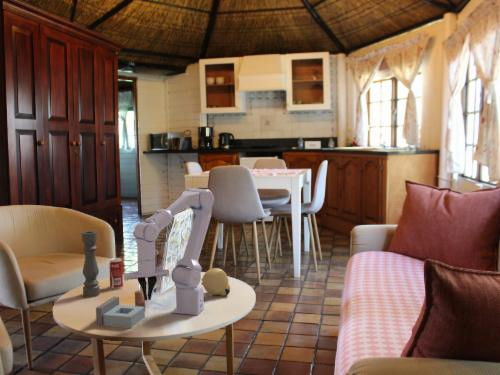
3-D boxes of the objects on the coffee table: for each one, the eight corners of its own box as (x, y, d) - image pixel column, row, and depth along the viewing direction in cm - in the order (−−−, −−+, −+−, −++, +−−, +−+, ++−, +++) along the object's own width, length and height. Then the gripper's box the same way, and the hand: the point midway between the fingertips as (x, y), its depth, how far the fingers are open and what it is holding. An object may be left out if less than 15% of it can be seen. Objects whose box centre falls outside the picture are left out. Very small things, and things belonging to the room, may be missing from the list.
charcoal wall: (119, 313, 173) (119, 296, 172) (102, 326, 161) (101, 308, 161) (114, 313, 173) (113, 296, 173) (96, 325, 162) (95, 307, 161)
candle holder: (95, 297, 190) (93, 234, 188) (80, 296, 191) (78, 233, 189) (102, 292, 197) (100, 231, 194) (87, 292, 198) (85, 230, 195)
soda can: (111, 285, 206) (110, 257, 205) (124, 285, 206) (123, 257, 205) (108, 289, 201) (107, 260, 200) (121, 289, 201) (121, 260, 200)
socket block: (144, 318, 169) (144, 306, 169) (131, 328, 160) (131, 317, 159) (118, 315, 171) (117, 304, 171) (103, 326, 162) (103, 314, 161)
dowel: (146, 309, 177) (146, 290, 176) (142, 313, 173) (142, 293, 173) (137, 309, 177) (137, 290, 177) (133, 312, 174) (133, 293, 173)
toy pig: (216, 307, 190) (237, 289, 189) (195, 285, 188) (216, 267, 188) (216, 298, 200) (236, 281, 199) (196, 277, 198) (216, 260, 197)
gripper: (166, 254, 167) (167, 293, 168) (122, 257, 162) (123, 297, 164) (170, 259, 160) (170, 299, 162) (124, 262, 156) (125, 304, 157)
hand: (147, 299), depth 162 cm, fingers closed
